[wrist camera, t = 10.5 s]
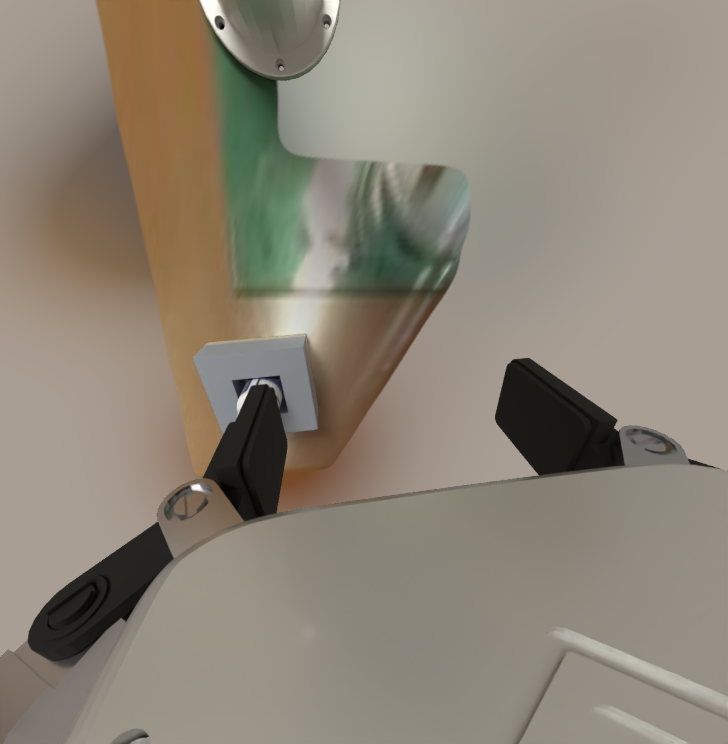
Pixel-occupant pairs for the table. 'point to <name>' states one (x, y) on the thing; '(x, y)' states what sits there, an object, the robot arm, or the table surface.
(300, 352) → the socket block
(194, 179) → the table surface
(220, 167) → the table surface
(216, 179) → the table surface
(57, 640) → the robot arm
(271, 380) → the pill bottle
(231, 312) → the table surface
